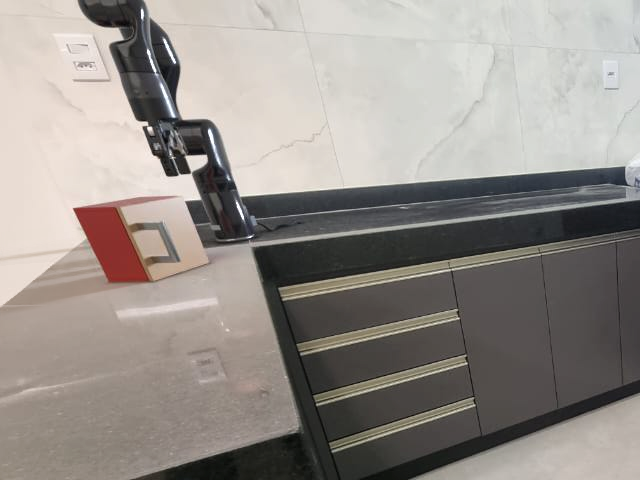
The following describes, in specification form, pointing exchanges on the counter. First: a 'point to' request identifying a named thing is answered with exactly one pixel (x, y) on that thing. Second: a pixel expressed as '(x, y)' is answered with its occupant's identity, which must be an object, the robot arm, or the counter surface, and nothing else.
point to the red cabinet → (113, 239)
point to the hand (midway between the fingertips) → (179, 175)
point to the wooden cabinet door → (163, 236)
